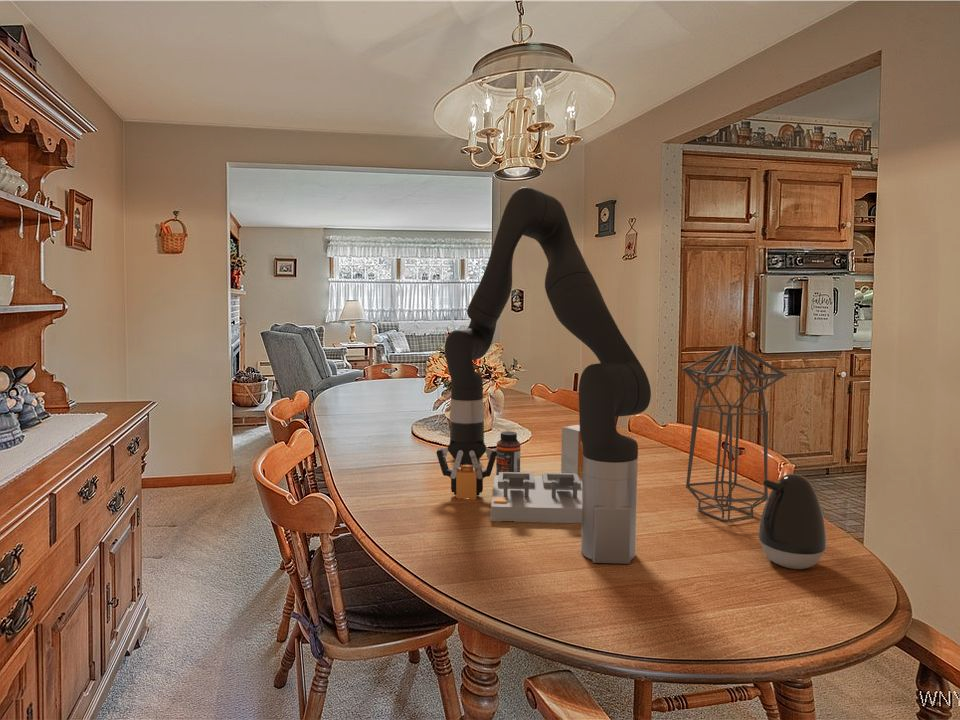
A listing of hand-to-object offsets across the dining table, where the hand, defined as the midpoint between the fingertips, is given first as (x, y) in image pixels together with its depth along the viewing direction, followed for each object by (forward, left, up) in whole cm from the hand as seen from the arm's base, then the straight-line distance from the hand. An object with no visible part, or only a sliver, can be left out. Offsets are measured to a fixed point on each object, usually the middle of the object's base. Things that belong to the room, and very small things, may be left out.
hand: (466, 493), depth 144 cm
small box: (+16, -27, -1) cm, 31 cm away
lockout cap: (0, 0, -1) cm, 1 cm away
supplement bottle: (+16, -9, -1) cm, 18 cm away
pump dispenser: (-33, -57, -1) cm, 66 cm away
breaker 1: (-9, -11, +5) cm, 15 cm away
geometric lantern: (-7, -55, -1) cm, 55 cm away
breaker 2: (-9, -21, +5) cm, 23 cm away
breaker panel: (-5, -16, -1) cm, 17 cm away
